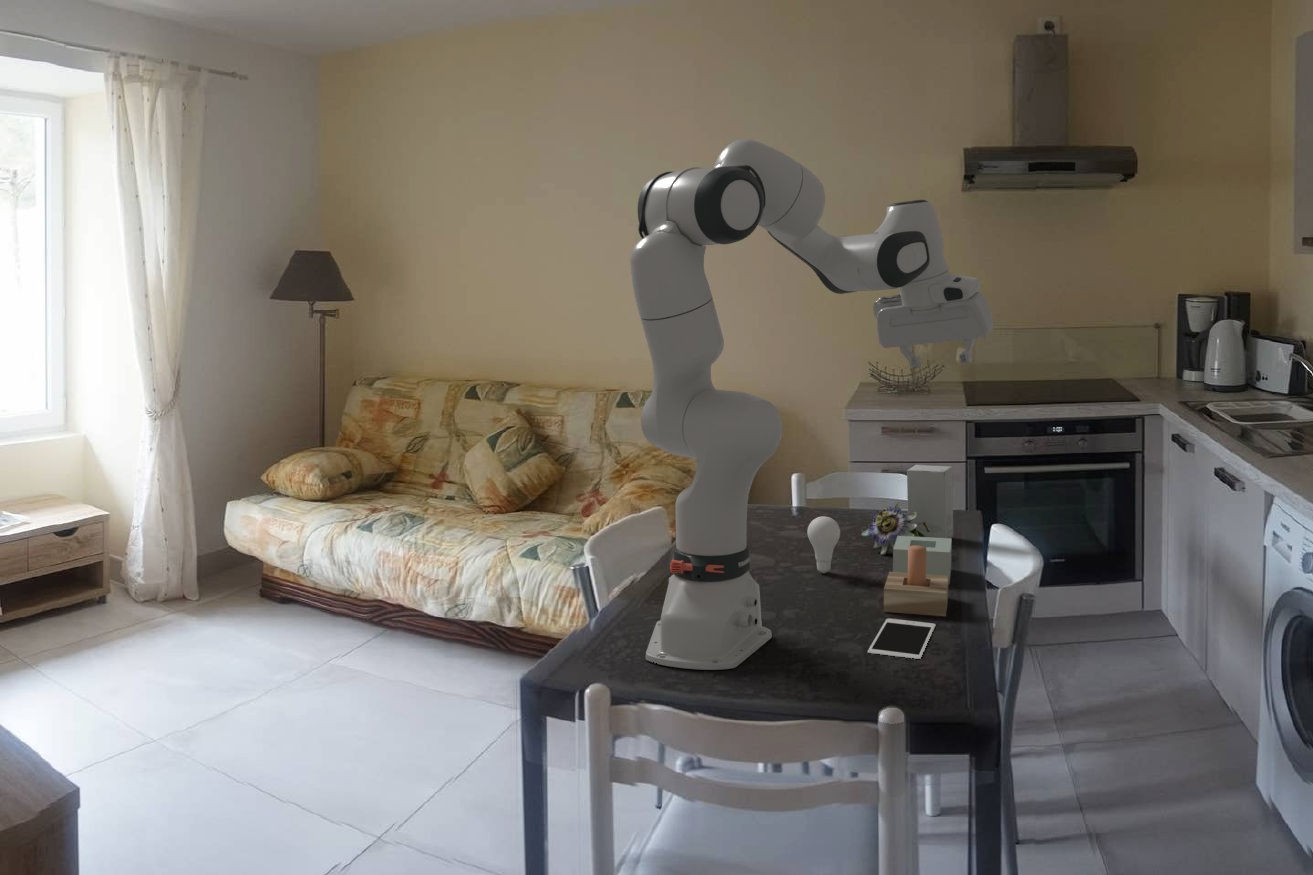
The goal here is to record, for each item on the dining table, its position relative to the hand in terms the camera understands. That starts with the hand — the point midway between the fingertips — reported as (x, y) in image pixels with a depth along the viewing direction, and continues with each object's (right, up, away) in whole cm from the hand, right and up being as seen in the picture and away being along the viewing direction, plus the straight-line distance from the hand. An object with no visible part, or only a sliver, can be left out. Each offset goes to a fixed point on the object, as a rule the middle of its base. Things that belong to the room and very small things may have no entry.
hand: (941, 364), depth 178 cm
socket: (-1, -39, +8) cm, 40 cm away
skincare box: (+7, -35, +33) cm, 49 cm away
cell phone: (-13, -45, -25) cm, 53 cm away
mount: (-7, -42, -9) cm, 43 cm away
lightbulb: (-19, -39, +11) cm, 45 cm away
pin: (-7, -42, -9) cm, 43 cm away
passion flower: (-2, -36, +25) cm, 44 cm away
